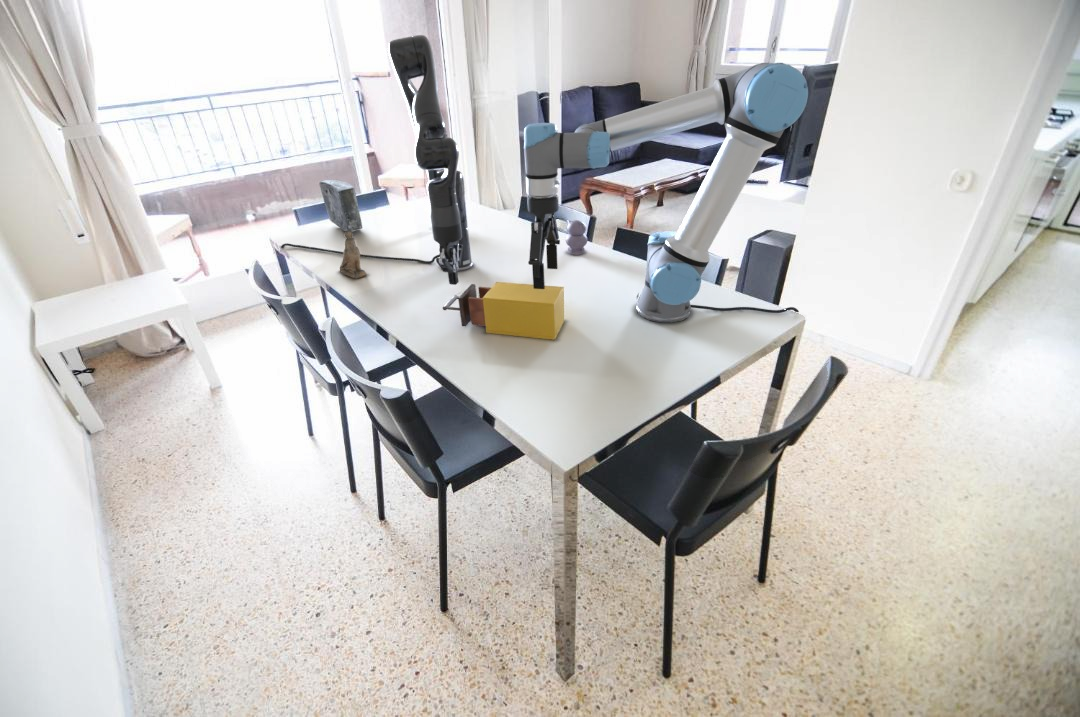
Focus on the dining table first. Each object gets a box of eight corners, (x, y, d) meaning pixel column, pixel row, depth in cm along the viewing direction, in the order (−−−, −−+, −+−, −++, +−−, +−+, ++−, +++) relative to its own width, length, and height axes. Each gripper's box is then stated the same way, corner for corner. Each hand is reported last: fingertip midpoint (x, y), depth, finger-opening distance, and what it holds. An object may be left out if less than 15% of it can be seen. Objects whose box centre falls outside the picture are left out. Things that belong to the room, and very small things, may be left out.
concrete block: (367, 234, 218) (357, 187, 208) (347, 238, 214) (336, 190, 203) (348, 221, 237) (338, 177, 226) (329, 225, 232) (318, 180, 222)
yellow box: (486, 332, 137) (482, 297, 131) (499, 315, 146) (496, 281, 140) (554, 340, 132) (554, 303, 127) (564, 321, 141) (563, 286, 136)
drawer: (443, 324, 140) (439, 296, 136) (457, 309, 148) (453, 282, 144) (524, 332, 134) (522, 303, 130) (534, 316, 142) (532, 288, 138)
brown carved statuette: (368, 281, 178) (362, 235, 166) (353, 285, 175) (347, 238, 163) (352, 266, 184) (346, 221, 172) (338, 270, 181) (331, 224, 169)
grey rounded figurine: (591, 251, 189) (592, 220, 183) (578, 257, 185) (578, 225, 178) (574, 246, 195) (574, 216, 188) (561, 252, 190) (560, 221, 183)
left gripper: (448, 229, 122) (457, 294, 132) (468, 215, 133) (475, 275, 142) (421, 228, 124) (431, 292, 133) (443, 213, 135) (451, 273, 144)
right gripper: (544, 209, 107) (548, 298, 118) (569, 183, 128) (570, 261, 139) (511, 208, 109) (518, 296, 120) (541, 182, 130) (544, 260, 141)
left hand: (454, 283), depth 138 cm, fingers closed
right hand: (546, 278), depth 130 cm, fingers open, 13 cm apart
